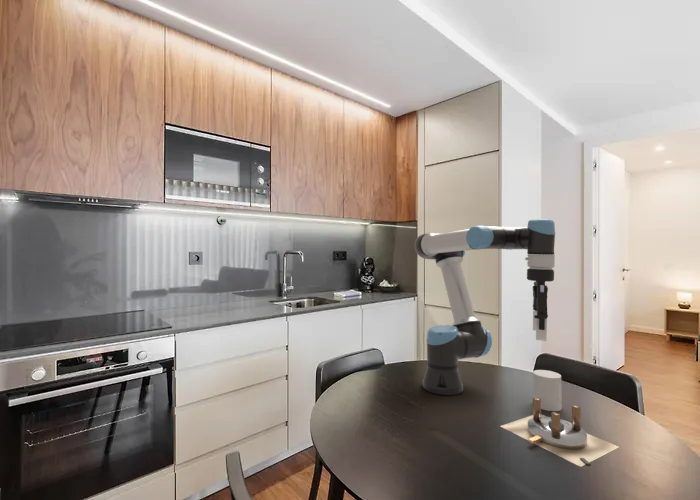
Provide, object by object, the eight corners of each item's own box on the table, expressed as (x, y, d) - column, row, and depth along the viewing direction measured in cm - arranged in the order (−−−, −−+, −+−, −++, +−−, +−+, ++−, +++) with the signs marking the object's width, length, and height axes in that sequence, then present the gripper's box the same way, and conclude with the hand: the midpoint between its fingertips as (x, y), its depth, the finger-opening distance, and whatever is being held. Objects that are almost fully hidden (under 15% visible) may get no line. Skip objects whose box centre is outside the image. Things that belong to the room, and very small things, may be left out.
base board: (499, 431, 99) (499, 425, 99) (538, 417, 108) (538, 412, 108) (583, 474, 79) (583, 467, 80) (622, 454, 88) (622, 447, 88)
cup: (566, 416, 109) (565, 379, 109) (538, 414, 110) (537, 377, 111) (556, 406, 117) (555, 370, 117) (530, 404, 118) (529, 369, 119)
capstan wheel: (507, 433, 95) (506, 404, 95) (546, 418, 104) (546, 392, 104) (557, 459, 83) (557, 426, 83) (598, 440, 91) (597, 411, 91)
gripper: (525, 266, 121) (524, 325, 121) (529, 269, 98) (528, 343, 99) (549, 266, 118) (548, 328, 118) (559, 270, 95) (558, 346, 95)
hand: (539, 335), depth 108 cm, fingers open, 13 cm apart
